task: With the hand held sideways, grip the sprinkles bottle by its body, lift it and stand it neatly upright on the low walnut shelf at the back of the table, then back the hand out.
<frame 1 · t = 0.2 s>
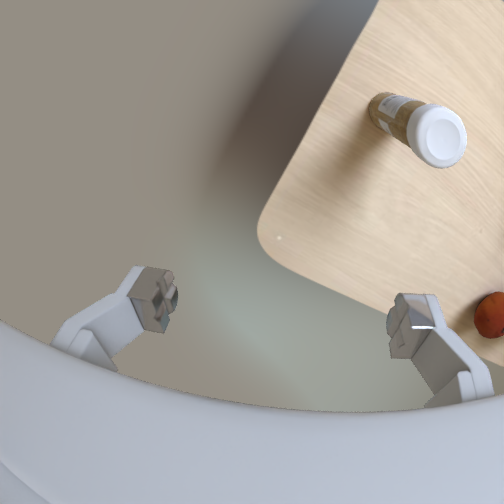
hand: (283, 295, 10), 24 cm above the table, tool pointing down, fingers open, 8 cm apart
fruit: (486, 300, 38), on the table
sprinkles bottle: (387, 110, 25), on the table
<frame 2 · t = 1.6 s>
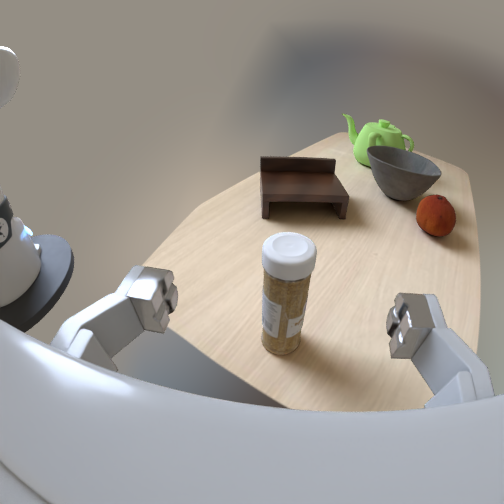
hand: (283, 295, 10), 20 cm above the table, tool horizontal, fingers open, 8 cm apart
fruit: (430, 232, 49), on the table
shelf: (300, 203, 57), on the table
bowl: (396, 196, 61), on the table
sprinkles bottle: (280, 340, 32), on the table
teapot: (373, 162, 80), on the table
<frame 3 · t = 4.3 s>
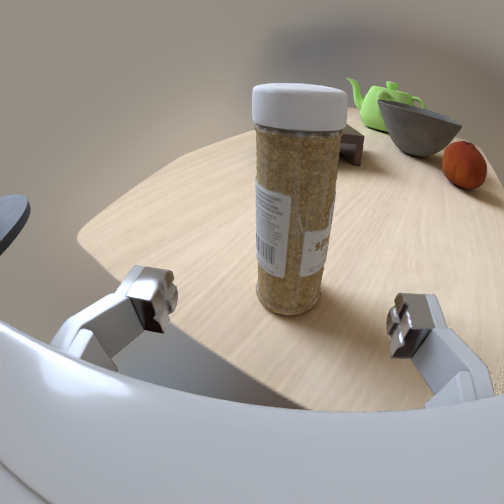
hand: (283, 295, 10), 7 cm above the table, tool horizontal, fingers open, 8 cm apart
fruit: (459, 186, 38), on the table
shelf: (304, 151, 45), on the table
bowl: (413, 154, 50), on the table
sprinkles bottle: (287, 294, 20), on the table
teapot: (382, 128, 69), on the table
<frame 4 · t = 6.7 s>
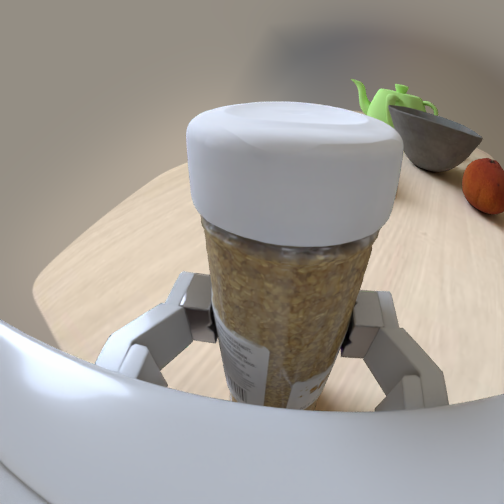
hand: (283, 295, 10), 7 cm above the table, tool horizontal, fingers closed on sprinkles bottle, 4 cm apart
fruit: (480, 210, 31), on the table
bowl: (427, 168, 44), on the table
sprinkles bottle: (272, 400, 14), on the table, touching gripper
teapot: (390, 135, 62), on the table
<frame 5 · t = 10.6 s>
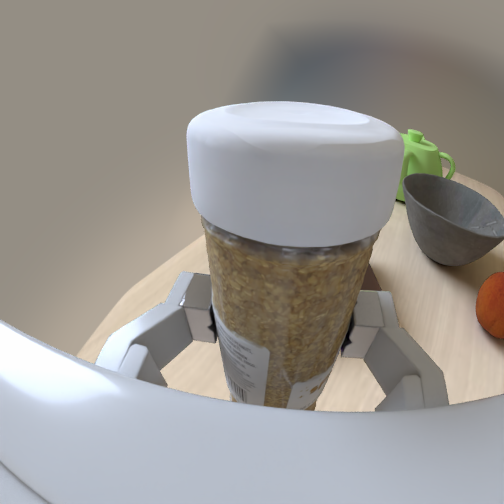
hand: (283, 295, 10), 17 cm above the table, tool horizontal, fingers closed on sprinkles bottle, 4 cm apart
fruit: (490, 326, 26), on the table
shelf: (292, 287, 34), on the table
bowl: (438, 254, 38), on the table
sprinkles bottle: (272, 401, 14), point 9 cm above the table, touching gripper
teapot: (397, 189, 57), on the table
when the fingers open (12 cm above the table, at t = 14.7 s): sprinkles bottle stays where it is, resting on shelf.
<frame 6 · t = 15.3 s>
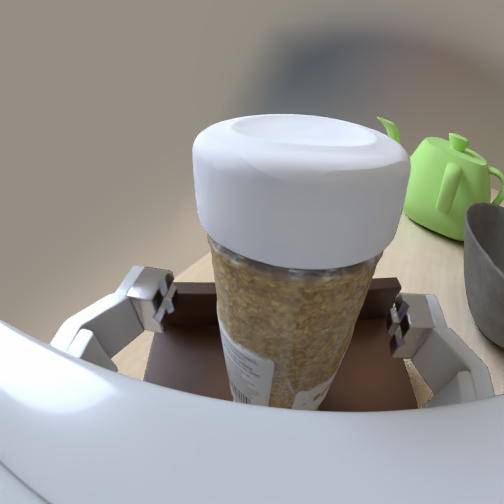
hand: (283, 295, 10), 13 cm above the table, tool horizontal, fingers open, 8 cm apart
shelf: (275, 421, 17), on the table
bowl: (494, 324, 22), on the table
sprinkles bottle: (274, 405, 14), point 5 cm above the table, touching shelf
teapot: (429, 213, 40), on the table
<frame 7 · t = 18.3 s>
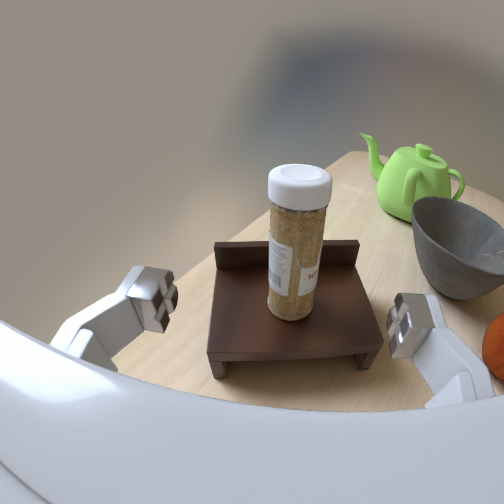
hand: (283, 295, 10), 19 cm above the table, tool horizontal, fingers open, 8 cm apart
fruit: (495, 364, 23), on the table
shelf: (289, 330, 31), on the table
bowl: (446, 284, 35), on the table
sprinkles bottle: (289, 305, 27), point 5 cm above the table, touching shelf
teapot: (403, 207, 54), on the table
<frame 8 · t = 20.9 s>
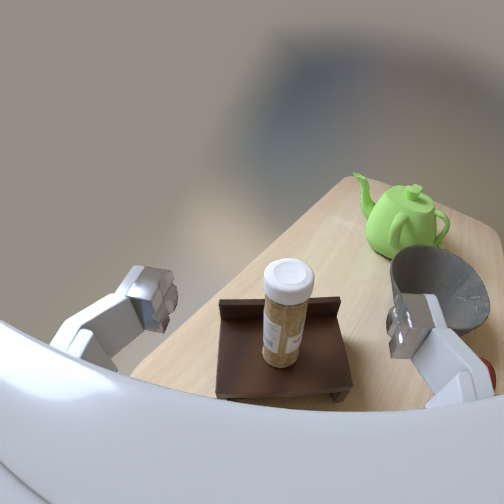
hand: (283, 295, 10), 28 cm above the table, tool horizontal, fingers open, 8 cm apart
shelf: (280, 368, 37), on the table
bowl: (421, 323, 41), on the table
sprinkles bottle: (280, 354, 33), point 5 cm above the table, touching shelf
teapot: (390, 242, 60), on the table
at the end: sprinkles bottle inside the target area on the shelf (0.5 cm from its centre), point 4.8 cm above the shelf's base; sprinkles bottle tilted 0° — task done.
